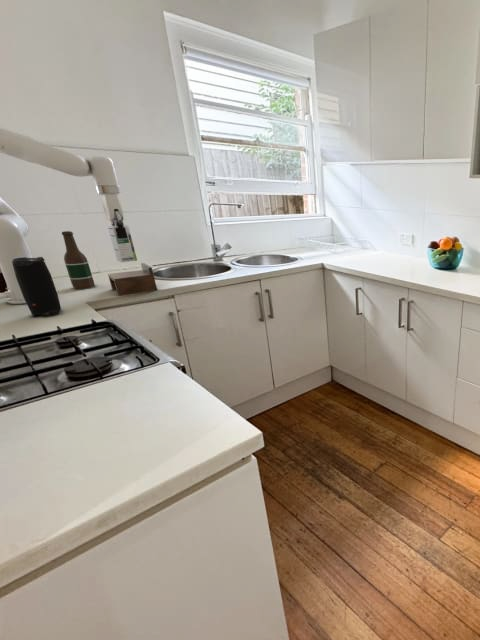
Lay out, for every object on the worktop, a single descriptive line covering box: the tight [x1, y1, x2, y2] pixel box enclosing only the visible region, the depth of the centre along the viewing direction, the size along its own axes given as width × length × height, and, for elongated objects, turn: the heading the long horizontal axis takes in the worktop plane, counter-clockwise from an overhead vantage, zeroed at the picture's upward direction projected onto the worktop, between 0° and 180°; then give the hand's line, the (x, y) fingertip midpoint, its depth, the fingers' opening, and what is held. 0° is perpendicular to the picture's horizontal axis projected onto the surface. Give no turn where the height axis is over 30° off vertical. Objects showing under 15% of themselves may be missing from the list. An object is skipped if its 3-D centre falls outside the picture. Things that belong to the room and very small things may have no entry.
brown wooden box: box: [107, 262, 158, 296], centre depth 165 cm, size 14×13×10 cm
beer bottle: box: [61, 230, 96, 290], centre depth 164 cm, size 8×8×24 cm
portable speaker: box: [12, 256, 62, 318], centre depth 131 cm, size 9×9×20 cm
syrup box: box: [107, 224, 138, 263], centre depth 159 cm, size 6×6×14 cm
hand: (120, 236), depth 158 cm, fingers closed on syrup box, 6 cm apart
